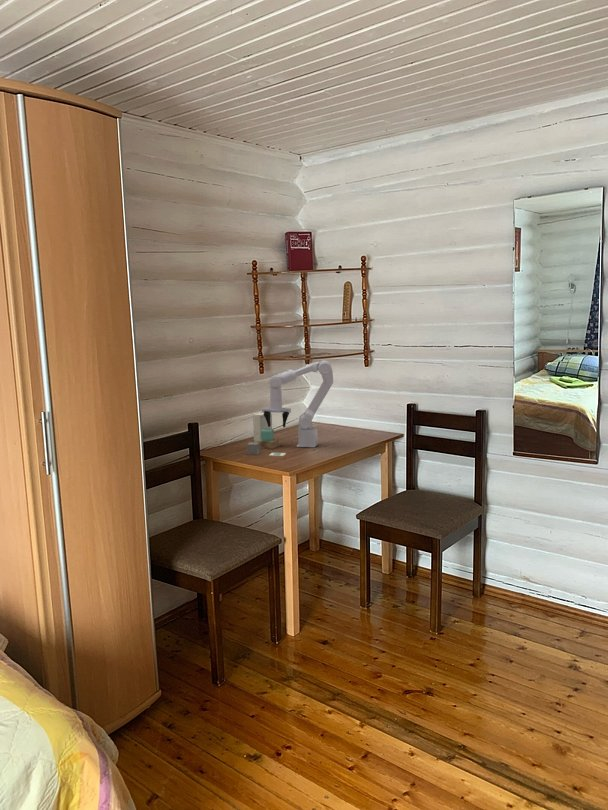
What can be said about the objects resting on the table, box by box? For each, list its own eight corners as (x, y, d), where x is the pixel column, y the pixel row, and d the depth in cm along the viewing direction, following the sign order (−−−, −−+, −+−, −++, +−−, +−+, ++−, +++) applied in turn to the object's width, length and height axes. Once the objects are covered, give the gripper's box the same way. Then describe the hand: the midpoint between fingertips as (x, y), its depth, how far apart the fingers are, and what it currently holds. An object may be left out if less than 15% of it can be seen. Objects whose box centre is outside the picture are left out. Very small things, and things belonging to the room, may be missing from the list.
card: (285, 453, 313) (285, 452, 313) (283, 456, 308) (283, 455, 308) (271, 453, 315) (271, 452, 315) (268, 455, 310) (268, 454, 310)
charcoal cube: (260, 452, 317) (260, 442, 316) (257, 455, 312) (256, 444, 311) (250, 452, 318) (250, 442, 317) (247, 454, 313) (246, 444, 313)
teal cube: (273, 439, 329) (273, 429, 328) (271, 441, 324) (271, 431, 323) (263, 439, 330) (263, 429, 329) (261, 441, 325) (261, 431, 324)
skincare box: (260, 443, 336) (259, 415, 333) (253, 442, 340) (252, 413, 338) (273, 441, 341) (272, 413, 339) (265, 439, 346) (264, 411, 343)
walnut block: (278, 446, 330) (278, 438, 330) (272, 450, 323) (272, 442, 322) (264, 445, 333) (264, 437, 333) (257, 449, 326) (257, 441, 325)
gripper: (259, 400, 324) (260, 427, 326) (288, 401, 321) (288, 428, 323) (263, 398, 331) (264, 425, 333) (291, 399, 327) (292, 425, 330)
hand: (276, 426), depth 328 cm, fingers open, 7 cm apart
